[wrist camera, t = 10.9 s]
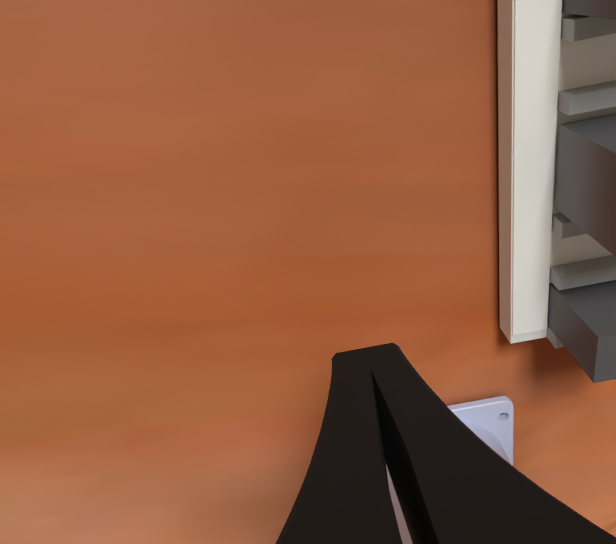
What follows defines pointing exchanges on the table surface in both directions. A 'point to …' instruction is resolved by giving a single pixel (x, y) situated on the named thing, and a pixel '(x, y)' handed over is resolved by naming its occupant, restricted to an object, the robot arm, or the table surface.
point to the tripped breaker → (589, 177)
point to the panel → (553, 177)
